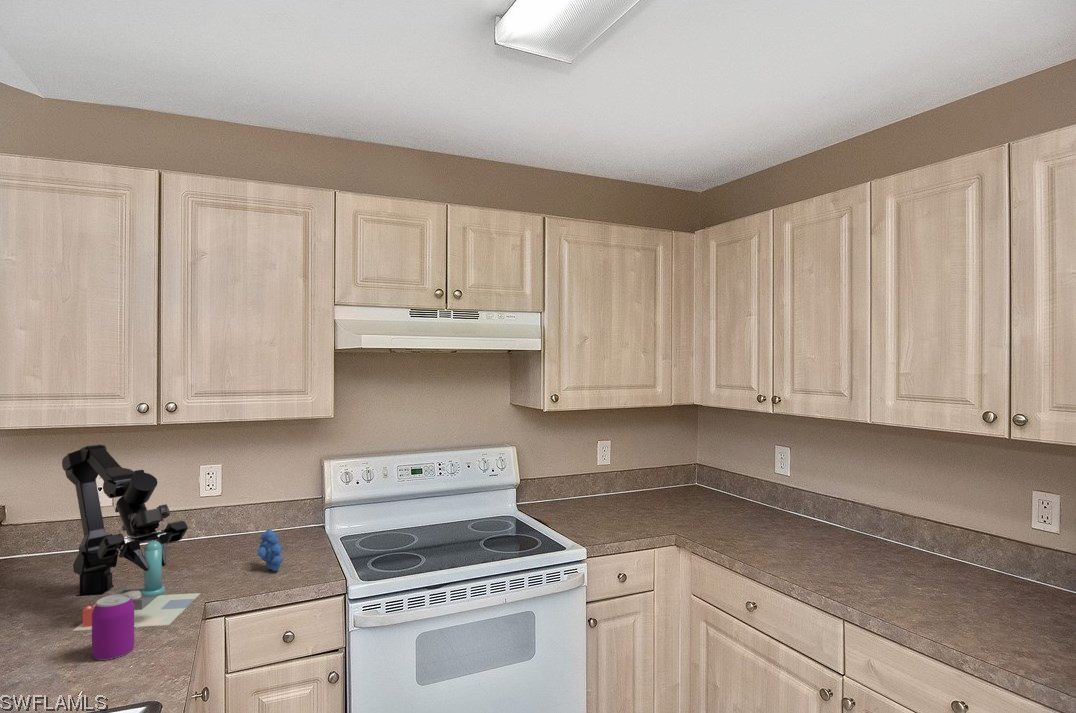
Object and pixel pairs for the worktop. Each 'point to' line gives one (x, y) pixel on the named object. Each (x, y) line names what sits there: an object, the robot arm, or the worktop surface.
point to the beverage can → (112, 627)
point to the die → (88, 615)
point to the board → (158, 610)
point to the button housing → (138, 602)
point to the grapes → (270, 550)
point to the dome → (134, 594)
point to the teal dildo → (153, 571)
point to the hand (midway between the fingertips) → (155, 567)
